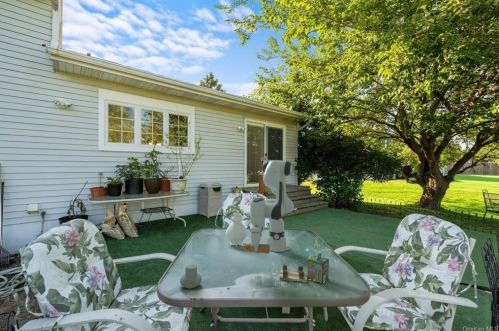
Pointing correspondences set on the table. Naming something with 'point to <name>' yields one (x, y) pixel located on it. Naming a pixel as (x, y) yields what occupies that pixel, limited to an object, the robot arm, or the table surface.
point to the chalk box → (318, 268)
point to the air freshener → (190, 277)
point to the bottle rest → (293, 274)
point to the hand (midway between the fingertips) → (256, 249)
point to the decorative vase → (236, 230)
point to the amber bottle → (261, 248)
